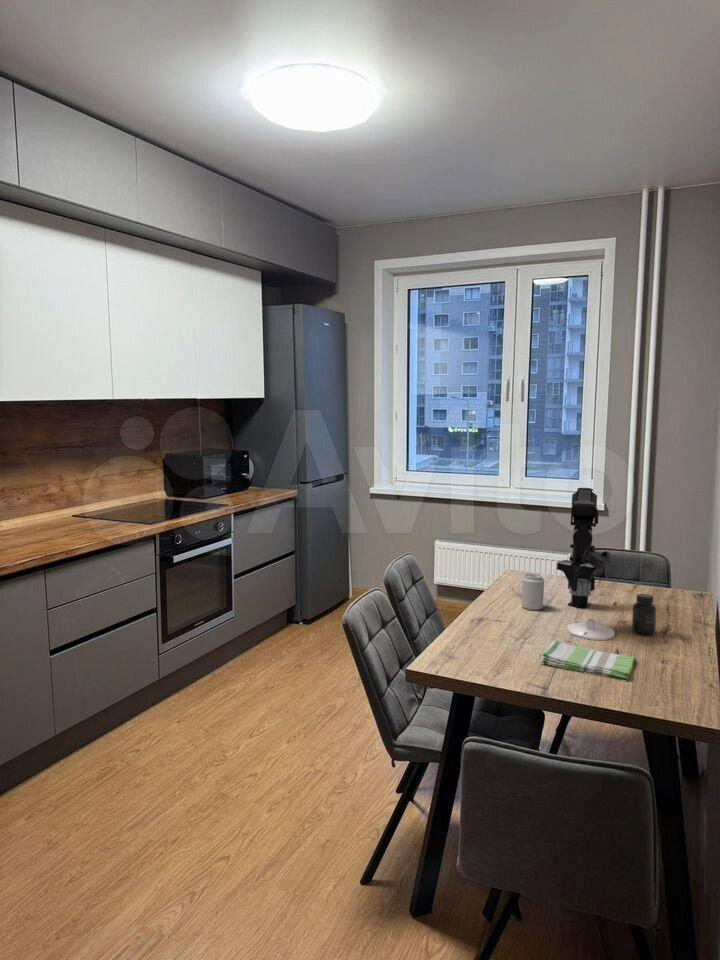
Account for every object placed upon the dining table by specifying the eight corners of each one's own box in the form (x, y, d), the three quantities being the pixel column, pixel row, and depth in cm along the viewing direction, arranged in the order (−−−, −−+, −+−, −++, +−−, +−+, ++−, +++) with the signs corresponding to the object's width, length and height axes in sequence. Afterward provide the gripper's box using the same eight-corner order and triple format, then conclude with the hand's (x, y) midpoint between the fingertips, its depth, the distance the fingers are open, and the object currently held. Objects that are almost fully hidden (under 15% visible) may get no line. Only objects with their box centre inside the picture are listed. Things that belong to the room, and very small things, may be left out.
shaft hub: (576, 622, 216) (576, 610, 216) (619, 631, 208) (620, 619, 207) (560, 633, 205) (561, 621, 205) (606, 643, 197) (606, 630, 196)
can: (541, 605, 235) (542, 572, 234) (544, 611, 228) (546, 577, 226) (519, 604, 236) (521, 571, 235) (522, 610, 228) (524, 577, 227)
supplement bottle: (655, 630, 209) (657, 594, 207) (654, 637, 203) (657, 599, 201) (632, 627, 212) (634, 591, 210) (631, 634, 205) (633, 596, 204)
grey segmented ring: (576, 589, 215) (577, 576, 214) (594, 594, 210) (595, 580, 209) (565, 592, 211) (566, 579, 210) (583, 597, 206) (583, 583, 205)
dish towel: (553, 647, 195) (553, 635, 194) (636, 662, 184) (636, 649, 183) (539, 666, 180) (539, 654, 180) (628, 684, 169) (629, 670, 169)
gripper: (588, 549, 197) (585, 599, 198) (621, 542, 208) (618, 590, 210) (556, 543, 205) (554, 592, 207) (590, 537, 217) (587, 583, 218)
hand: (580, 589), depth 210 cm, fingers closed on grey segmented ring, 6 cm apart
